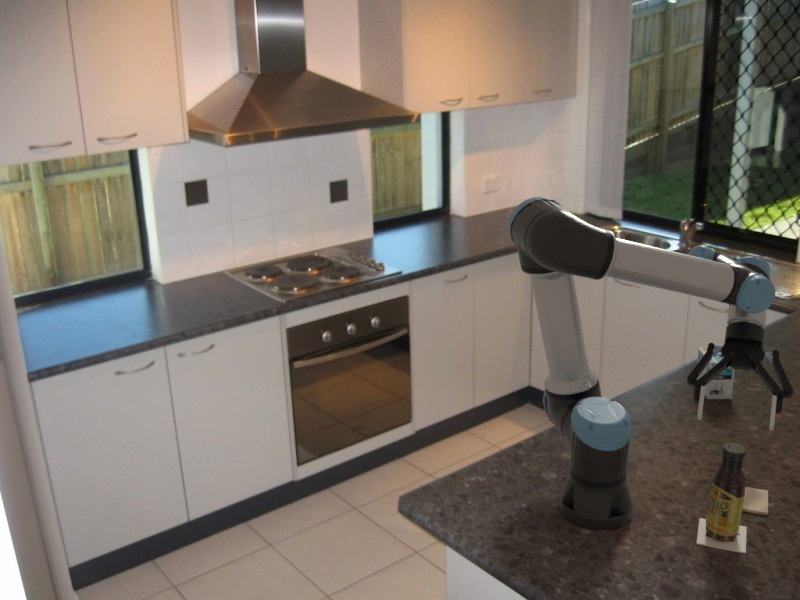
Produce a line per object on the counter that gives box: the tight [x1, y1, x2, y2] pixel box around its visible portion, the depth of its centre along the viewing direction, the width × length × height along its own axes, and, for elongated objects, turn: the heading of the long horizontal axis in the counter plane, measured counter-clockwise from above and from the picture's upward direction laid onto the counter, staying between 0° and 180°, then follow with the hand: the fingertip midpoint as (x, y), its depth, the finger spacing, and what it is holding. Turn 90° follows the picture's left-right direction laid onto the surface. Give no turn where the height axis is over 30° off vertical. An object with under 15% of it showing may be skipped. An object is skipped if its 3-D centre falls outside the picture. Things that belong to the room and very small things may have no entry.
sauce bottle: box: [705, 442, 747, 542], centre depth 165 cm, size 6×6×20 cm
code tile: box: [696, 517, 748, 555], centre depth 169 cm, size 9×9×1 cm
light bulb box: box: [696, 347, 736, 400], centre depth 228 cm, size 11×7×11 cm, turn 179°
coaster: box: [742, 486, 769, 516], centre depth 180 cm, size 9×9×1 cm
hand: (734, 423), depth 171 cm, fingers open, 13 cm apart
